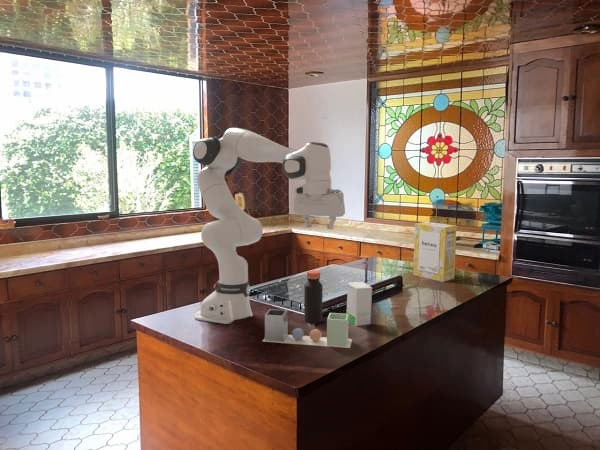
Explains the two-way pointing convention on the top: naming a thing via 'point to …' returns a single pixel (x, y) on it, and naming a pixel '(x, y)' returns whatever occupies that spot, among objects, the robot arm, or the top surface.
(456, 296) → the top surface
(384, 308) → the top surface
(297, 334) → the ball slate
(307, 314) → the bottle
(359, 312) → the skincare box
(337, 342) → the tube sage
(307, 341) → the board
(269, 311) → the tube grey
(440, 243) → the pasta box
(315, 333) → the ball terracotta
